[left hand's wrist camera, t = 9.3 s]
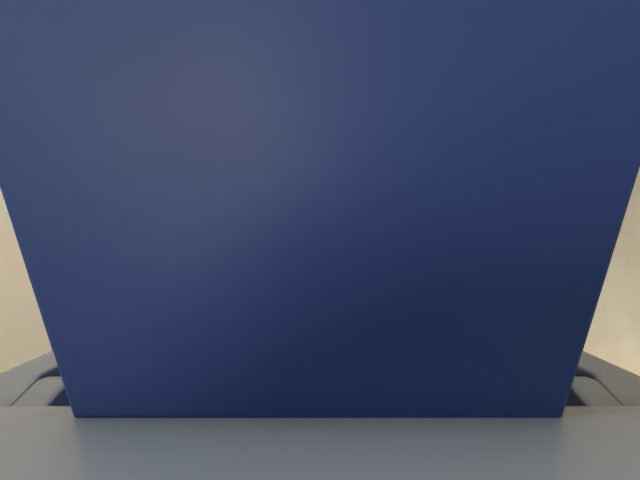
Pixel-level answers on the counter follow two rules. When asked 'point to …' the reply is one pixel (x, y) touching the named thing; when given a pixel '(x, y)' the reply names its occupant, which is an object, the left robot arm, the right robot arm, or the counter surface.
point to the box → (318, 199)
